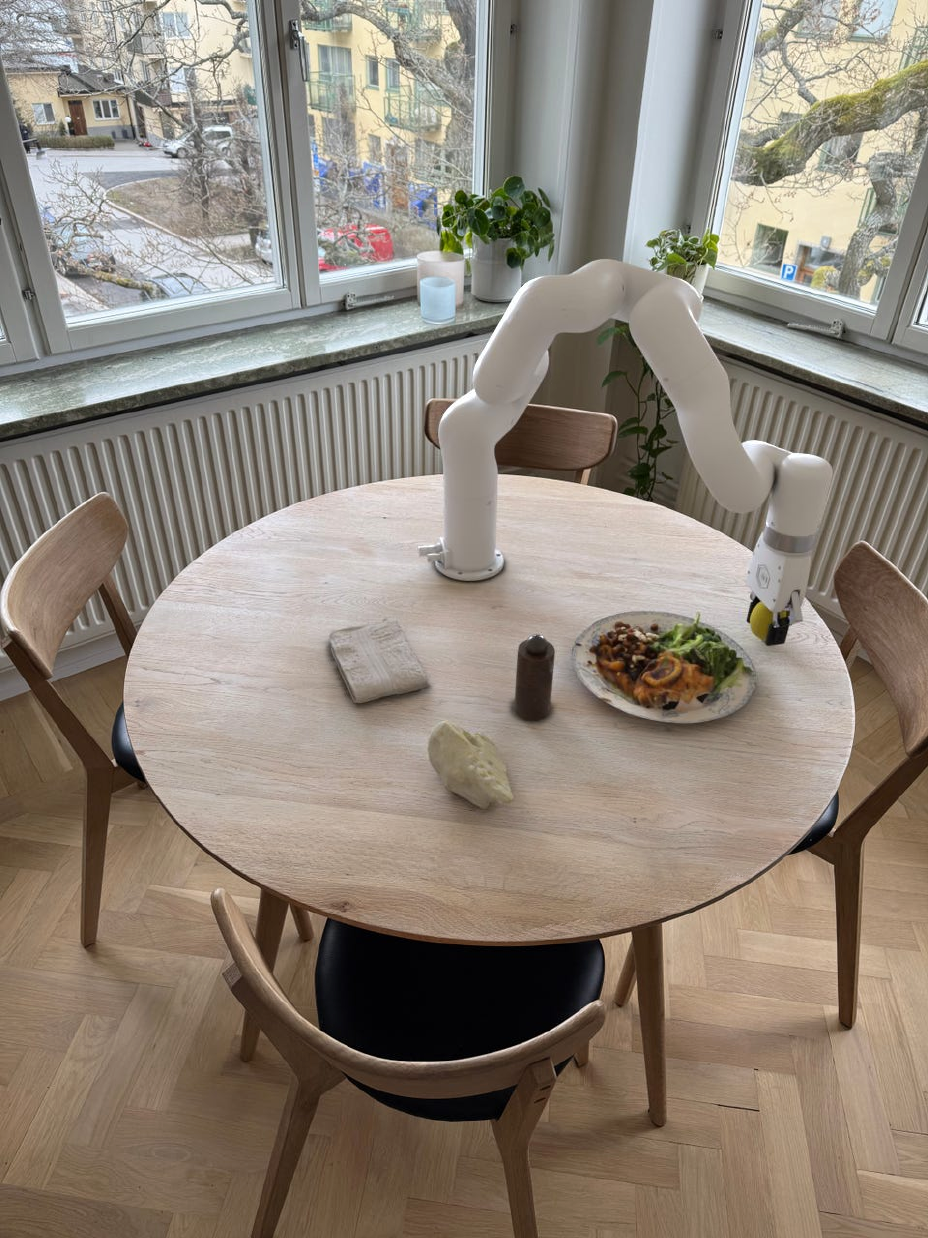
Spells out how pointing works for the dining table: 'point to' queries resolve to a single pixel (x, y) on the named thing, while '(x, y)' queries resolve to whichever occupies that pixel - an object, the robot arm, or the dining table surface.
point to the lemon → (762, 620)
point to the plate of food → (664, 667)
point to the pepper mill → (534, 678)
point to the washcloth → (376, 660)
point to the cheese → (469, 764)
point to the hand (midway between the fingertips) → (765, 631)
